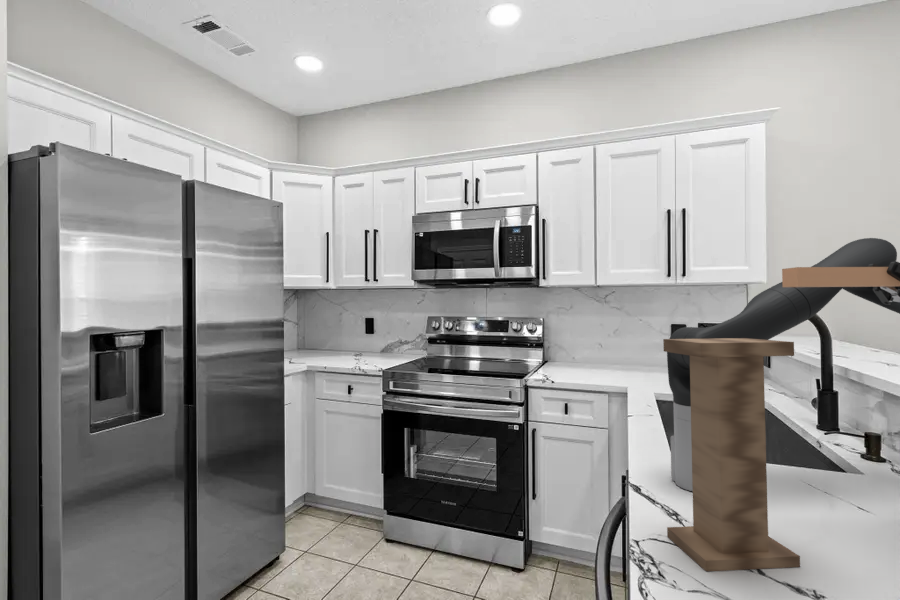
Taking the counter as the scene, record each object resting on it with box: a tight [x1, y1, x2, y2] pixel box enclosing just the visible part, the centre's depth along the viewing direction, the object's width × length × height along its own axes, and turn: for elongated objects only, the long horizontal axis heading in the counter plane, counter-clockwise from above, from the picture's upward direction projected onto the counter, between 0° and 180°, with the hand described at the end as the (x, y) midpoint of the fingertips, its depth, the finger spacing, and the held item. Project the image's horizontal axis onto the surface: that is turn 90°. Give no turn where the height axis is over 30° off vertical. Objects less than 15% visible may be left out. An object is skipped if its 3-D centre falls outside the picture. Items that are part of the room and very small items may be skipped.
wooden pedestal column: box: [662, 338, 801, 572], centre depth 70 cm, size 14×10×32 cm
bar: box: [781, 266, 900, 287], centre depth 74 cm, size 22×3×3 cm, turn 94°
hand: (879, 267), depth 75 cm, fingers closed on bar, 3 cm apart
